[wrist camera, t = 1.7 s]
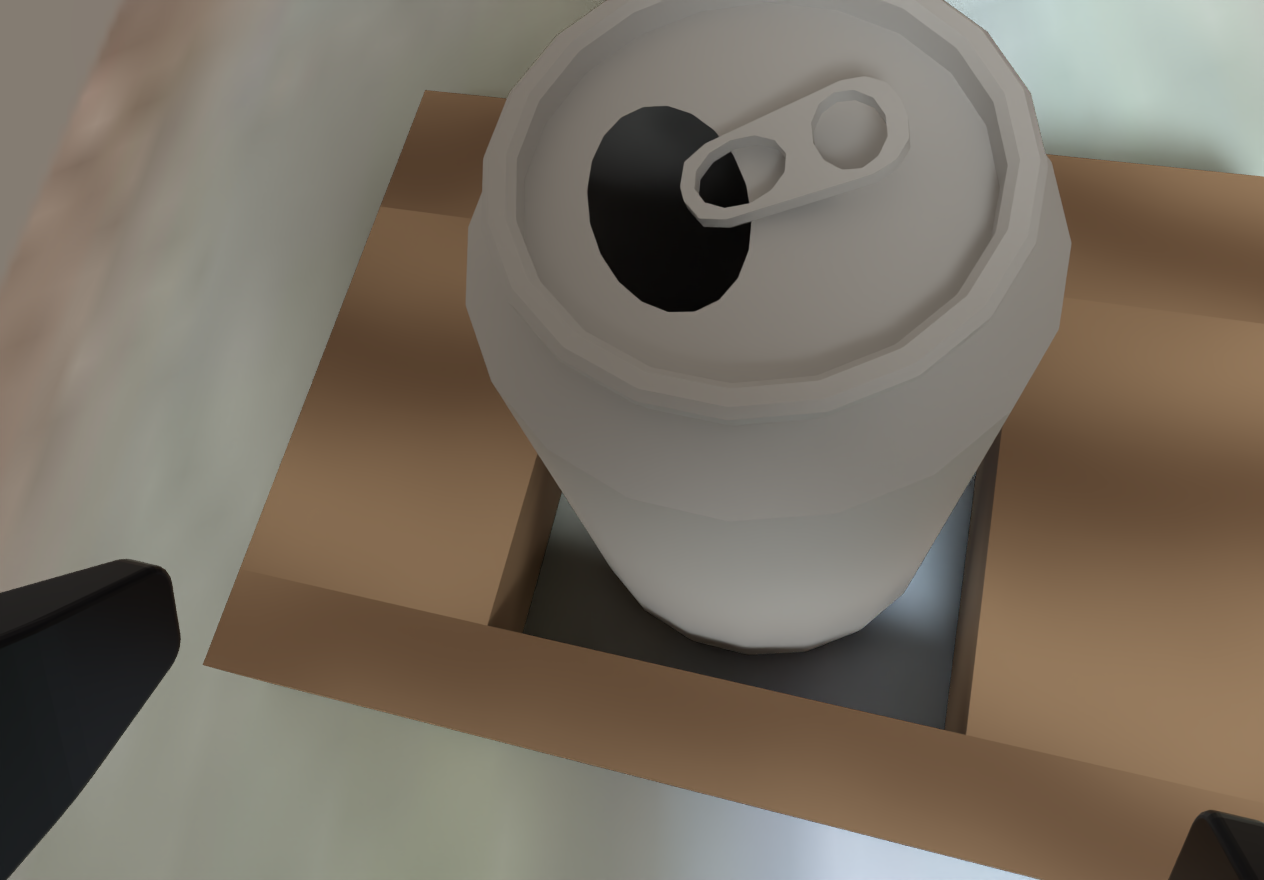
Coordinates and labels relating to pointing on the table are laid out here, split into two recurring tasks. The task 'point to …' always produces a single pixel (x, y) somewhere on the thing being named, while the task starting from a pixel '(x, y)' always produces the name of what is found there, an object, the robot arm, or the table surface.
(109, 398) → the table surface
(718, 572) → the can
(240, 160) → the table surface
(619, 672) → the pocket board
